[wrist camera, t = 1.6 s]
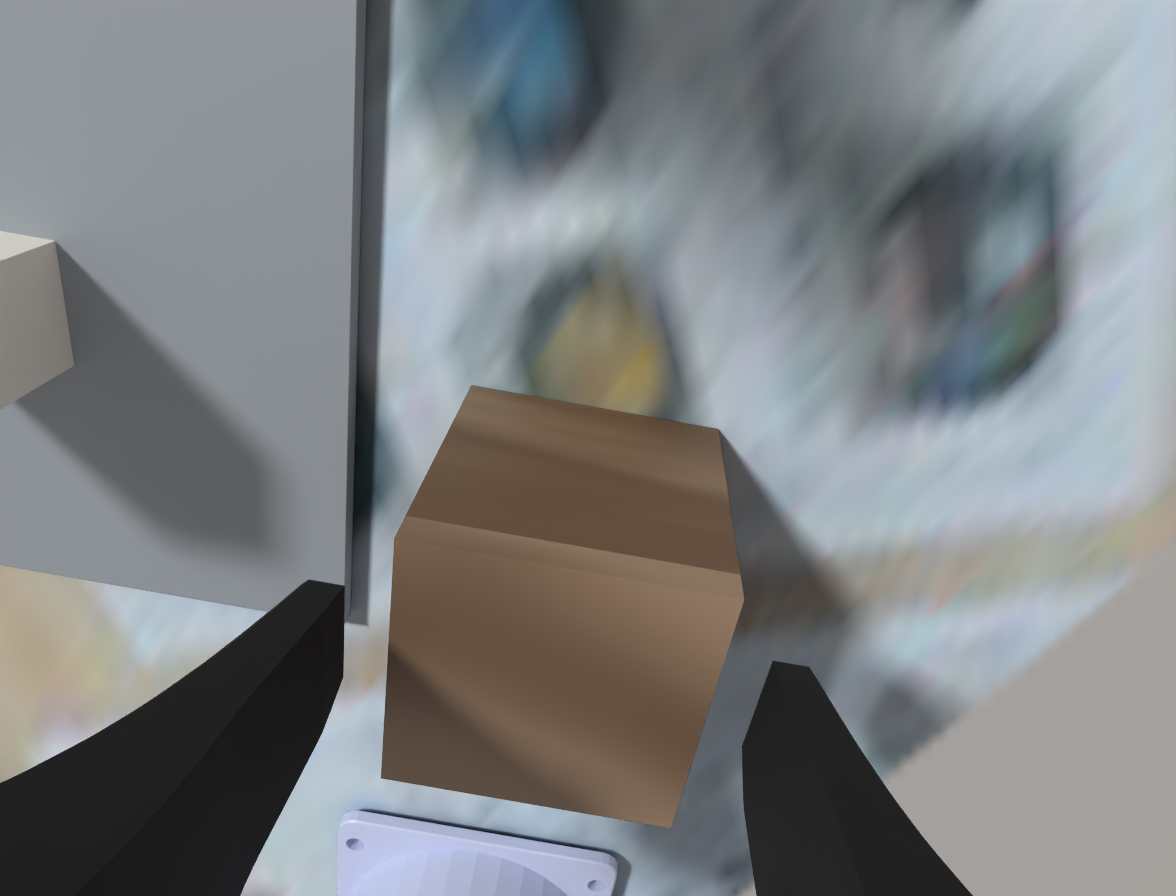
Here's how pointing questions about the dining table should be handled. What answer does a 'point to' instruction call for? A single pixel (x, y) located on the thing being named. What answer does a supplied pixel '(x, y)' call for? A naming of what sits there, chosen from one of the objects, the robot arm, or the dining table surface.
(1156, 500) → the dining table surface
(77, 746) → the robot arm
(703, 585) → the brown shipping carton
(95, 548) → the flat grey base plate
